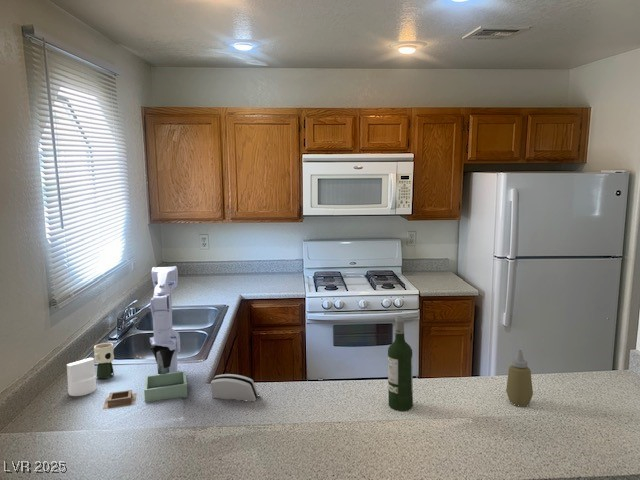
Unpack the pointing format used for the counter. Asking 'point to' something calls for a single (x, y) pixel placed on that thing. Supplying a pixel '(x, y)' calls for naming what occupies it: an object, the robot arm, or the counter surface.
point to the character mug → (104, 359)
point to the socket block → (120, 399)
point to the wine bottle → (400, 370)
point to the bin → (167, 390)
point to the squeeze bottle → (519, 381)
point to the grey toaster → (233, 387)
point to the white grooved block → (81, 377)
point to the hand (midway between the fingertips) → (163, 365)
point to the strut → (161, 365)
